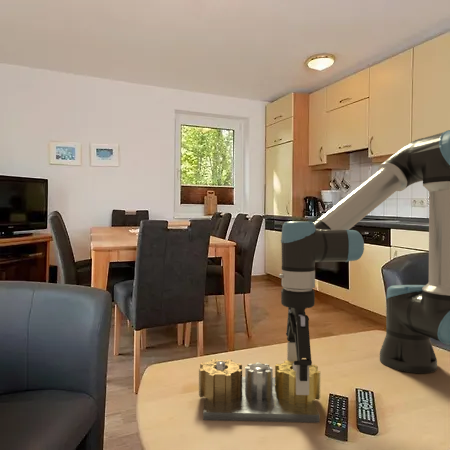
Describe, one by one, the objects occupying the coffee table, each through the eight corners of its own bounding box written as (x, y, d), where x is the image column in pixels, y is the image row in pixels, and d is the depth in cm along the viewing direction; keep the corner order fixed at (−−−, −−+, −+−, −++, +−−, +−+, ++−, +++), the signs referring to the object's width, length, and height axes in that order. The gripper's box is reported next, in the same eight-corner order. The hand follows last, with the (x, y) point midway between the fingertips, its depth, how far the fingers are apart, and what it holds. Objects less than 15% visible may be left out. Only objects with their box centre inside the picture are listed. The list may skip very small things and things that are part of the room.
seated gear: (241, 383, 91) (241, 359, 91) (242, 403, 82) (242, 376, 81) (201, 382, 92) (201, 358, 92) (197, 402, 82) (197, 375, 82)
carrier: (304, 384, 95) (304, 350, 95) (319, 422, 77) (319, 381, 77) (209, 382, 96) (209, 349, 96) (203, 419, 78) (203, 378, 78)
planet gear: (314, 385, 91) (314, 360, 91) (323, 405, 81) (324, 377, 81) (273, 384, 91) (273, 359, 91) (277, 404, 81) (278, 376, 81)
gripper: (275, 279, 98) (275, 359, 99) (288, 299, 73) (288, 407, 74) (304, 279, 98) (304, 360, 98) (327, 300, 73) (326, 407, 73)
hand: (297, 380), depth 86 cm, fingers open, 13 cm apart
